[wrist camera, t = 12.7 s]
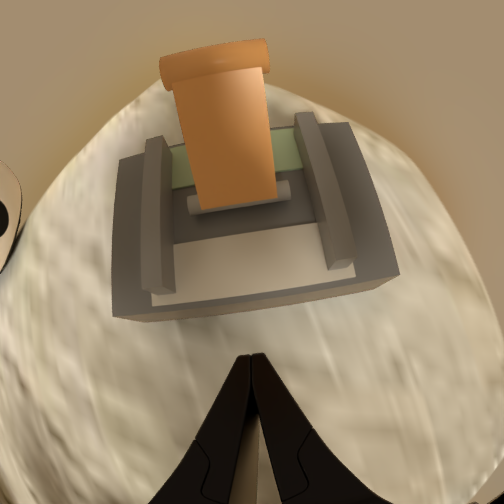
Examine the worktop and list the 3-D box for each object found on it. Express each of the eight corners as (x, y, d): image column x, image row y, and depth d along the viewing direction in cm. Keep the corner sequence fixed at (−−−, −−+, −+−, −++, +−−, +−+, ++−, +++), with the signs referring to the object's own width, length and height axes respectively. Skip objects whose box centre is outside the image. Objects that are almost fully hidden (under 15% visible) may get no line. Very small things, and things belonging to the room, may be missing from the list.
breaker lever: (292, 206, 16) (274, 35, 10) (190, 222, 16) (149, 59, 10) (286, 191, 18) (268, 39, 12) (193, 206, 18) (158, 59, 12)
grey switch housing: (373, 289, 20) (417, 264, 13) (145, 322, 21) (91, 312, 14) (337, 158, 24) (354, 100, 17) (143, 189, 24) (105, 142, 17)
